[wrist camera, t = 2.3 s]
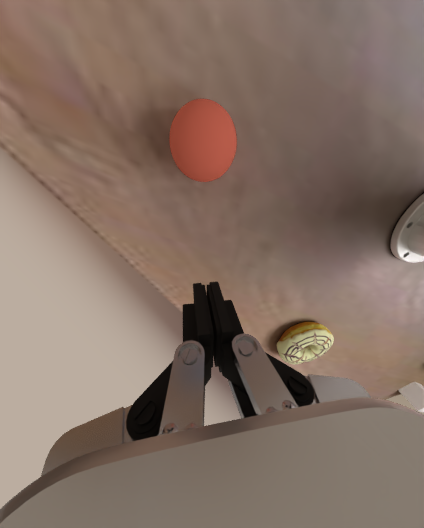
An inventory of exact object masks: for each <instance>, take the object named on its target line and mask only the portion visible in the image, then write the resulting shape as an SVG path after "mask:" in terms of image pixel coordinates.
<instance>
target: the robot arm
mask: <svg viewBox="0 0 424 528" xmlns="http://www.w3.org/2000/svg"><path fill="white" fill-rule="evenodd" d="M391 251H392V253H393V254H394V256H395V257H397V258H398V259H401V260H403V261H405V262H411V263H412V262H421V261H424V194H422V195H421V196H420V197H419V198H418V199H417V200H416V201H415V202H414V203H413V204H412V205H411V206H410V207H409V208H408V209H407V210H406V212H405V213H404V214H403V215H402V217H401V218H400V220H399V222H398V223H397V225H396V227H395V229H394V231H393V234H392V238H391ZM193 292H194V304H184V305H183V343H182V344H180V345H179V346H178V348H177V349H176V351H175V355H174V360H173V362H172V363H171V364H170V365H169V366H168V367H167V368H166V369H165V370H164V371H163V372H162V373H161V374H160V375H159V376H158V378H157V379H156V380H155V381H154V382H153V383H152V384H151V385H150V386H149V387H148V388H147V389H146V390H145V391H144V392H143V394H142V395H141V396H140V397H139V398H138V399H137V400H136V401H135V402H134V404H133V405H131V406H129V407H127V408H123V407H122V408H119V409H117V410H115V411H112V412H110V413H108V414H105V415H103V416H101V417H98V418H96V419H94V420H91V421H89V422H87V423H85V424H82V425H80V426H77V427H75V428H73V429H71V430H69V431H68V432H66V433H64V434H63V435H62V436H61V437H60V438H59V439H58V440H57V441H56V443H55V444H54V445H53V447H52V448H51V450H50V452H49V454H48V456H47V459H46V461H45V465H44V468H43V471H42V475H41V477H40V478H39V479H37V480H36V481H34V482H33V483H31V484H30V485H28V486H27V487H26V488H24V489H23V490H22V491H21V492H19V493H18V494H17V495H16V496H14V497H13V498H12V499H11V500H10V501H9V502H8V503H6V504H5V505H4V506H3V507H2V508H1V509H0V528H424V415H422V414H420V413H419V412H417V411H415V410H413V409H411V408H408V407H406V406H403V405H401V404H398V403H394V402H391V401H388V400H383V399H378V398H371V397H370V396H369V394H368V393H367V391H366V390H365V389H364V388H363V387H362V386H361V385H360V384H358V383H357V382H355V381H353V380H351V379H347V378H339V377H329V376H319V375H308V376H303V375H302V374H301V373H299V372H298V371H296V370H294V369H293V368H291V367H289V366H287V365H286V364H284V363H282V362H281V361H279V360H277V359H276V358H274V357H272V356H271V355H269V354H267V353H265V352H264V350H263V348H262V347H261V345H260V343H259V342H258V341H257V339H256V338H254V337H253V336H251V335H249V334H244V332H243V329H242V327H241V324H240V321H239V319H238V316H237V313H236V311H235V308H234V305H233V303H232V301H231V300H225V301H224V299H223V296H222V293H221V290H220V286H219V283H218V282H210V285H207V295H206V290H205V285H201V283H196V284H193ZM213 356H214V361H215V366H216V367H217V366H219V371H220V372H222V374H223V376H224V377H225V378H227V379H228V382H229V385H230V388H231V391H232V394H233V396H234V399H235V402H236V405H237V408H238V411H239V413H240V416H241V419H237V420H232V421H228V422H223V423H217V424H213V425H208V426H204V404H205V403H204V402H205V385H206V384H207V382H208V381H209V379H210V378H211V367H213Z"/></svg>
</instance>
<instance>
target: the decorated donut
mask: <svg viewBox="0 0 424 528" xmlns="http://www.w3.org/2000/svg"><path fill="white" fill-rule="evenodd" d="M333 340H334V338H333V336H332V334H331V333H330V331H329V330H328V329H327V328H326V327H325V326H323V325H321V324H319V323H315V322H303V323H299V324H297V325H294V326H292V327H290V328H289V329H287V330H286V331H285V332H284V333H283V334H282V336H281V338H280V339H279V341H278V343H277V350H278V352H279V355H280V357H281V358H282V359H283V360H284V361H285V362H288V363H290V364H300V363H304V362H310V361H312V360H314V359H316V358H318V357H320V356H322V355H323V354H325V353H326V352H327V351H328V350H329V349H330V347H331V346H332V344H333Z"/></svg>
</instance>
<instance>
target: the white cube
mask: <svg viewBox="0 0 424 528" xmlns="http://www.w3.org/2000/svg"><path fill="white" fill-rule="evenodd" d="M398 391H399V392H400V393H401V394H402V395H403V396H404V397H405V398H406V399H407V400H408V401H409V402H410V403H411V404H412V405H413V406H414V408H416V410H417V411H421V412H424V387H423V386H422V385H421V384H419V383H417V382H413V383H411V384H409V385H407V386H405V387H403V388H401V389H399V390H398Z"/></svg>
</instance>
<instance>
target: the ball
mask: <svg viewBox="0 0 424 528" xmlns="http://www.w3.org/2000/svg"><path fill="white" fill-rule="evenodd" d="M236 147H237V137H236V130H235V127H234V124H233V121H232V119H231V117H230V116H229V114H228V113H227V111H226V110H225V109H224V108H223V107H222V106H221V105H219V104H218V103H216V102H214V101H212V100H209V99H196V100H193V101H190V102H188V103H187V104H185V105H184V106H183V107H182V108H181V109H180V110H179V111H178V112H177V114H176V116H175V117H174V120H173V122H172V125H171V129H170V149H171V153H172V156H173V159H174V161H175V163H176V165H177V166H178V168H179V169H180V170H181V171H182V172H183V173H184V174H185V175H186V176H188V177H189V178H191V179H193V180H196V181H200V182H208V181H213V180H215V179H217V178H219V177H221V176H222V175H223V174H224V173H225V172H226V171H227V170H228V169H229V167H230V165H231V164H232V161H233V159H234V156H235V153H236Z"/></svg>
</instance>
